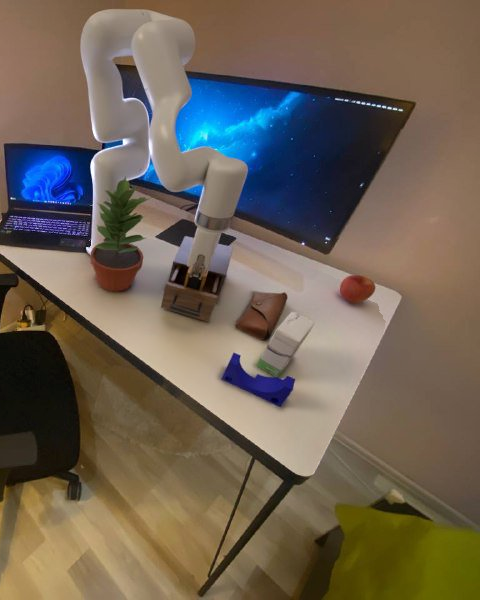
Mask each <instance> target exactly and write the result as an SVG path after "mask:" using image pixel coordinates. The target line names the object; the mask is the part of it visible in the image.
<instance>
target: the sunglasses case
mask: <svg viewBox="0 0 480 600" xmlns="http://www.w3.org/2000/svg"><path fill="white" fill-rule="evenodd" d="M287 300H288V294H287V292H286V291H285V292H280V293H279V292H257V291H254V292H253V294H252V297H251V299H250V301H249V302H248V304H247V306H246V308H245V309H244V311H243V313H242V314H241V316H240V317H239V318H238V319H237V321H236V323H235V324H234V326H235V327H236V328H237V330H240V331H242V332H243V333H245V334H247V335H249V336H251V337H253V338H255V339H257V340H259V341H262V342H263V341H264V342H265V341H266V342H267V341H270V340H271V338H272V336H273V334H274V332H275V331H274V330H276V327H277V324H278V322H279V319H280V317H281V315H282V313H283V311H284V308H285V306H286V303H287Z"/></svg>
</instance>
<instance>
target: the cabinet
mask: <svg viewBox="0 0 480 600" xmlns="http://www.w3.org/2000/svg"><path fill="white" fill-rule="evenodd" d="M193 240H194V237H191V236H187V235H184V237H183V239H182V242H181V244H180V246H179V248H178V250H177V252H176V255H175V257H174V258H173V260H172V264H171V269H170V273H169V277H168V281H167V282H171V279H172V277H173V274H174V272H175V270H176V268H177V265H179V266H183V267H186V268H189V267H188V266H187V261H188V258H189V254H190V251H191V247H192V244H193ZM233 250H234V246H229V245H225V244H221V243H218V245H217V248H216V250H215V253H214V255H213V258H212V260H211V262H210V265H209V270H208V273H209V274H213V275H217V276H220V278H219V282H218V286H217V289H216V293H215V295H217V296H218V298H217V301H218V299H219V297H220V293H221V291H222V289H223V286H224V283H225V280H226V278H227V274H228V269H229V267H230V261H231V258H232V254H233ZM195 264H196V263H195ZM217 301H216V303H217Z"/></svg>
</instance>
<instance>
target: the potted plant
mask: <svg viewBox="0 0 480 600" xmlns="http://www.w3.org/2000/svg"><path fill="white" fill-rule="evenodd" d="M130 184H131V183H130V182H129V180H128V181H127V180H126V176H125V178H124V180H122V181H120V182H119V183H118V185H117V189H116V191H115V190H114V193H113V194H112V193H111V192H109V191H107V190H106V191H105V192H106V193H107V194H108V195H109V196H110V197H111V203H109V202H107V201H104V202H103V203H104V204H106V205H107V206H108V207H110V210H109V209H107V208H106V207H105V206H104V205H102V204H98V203H97V202H96V203H97V204H98V205H99V206H100V208H101V210H102V211H103V212H104V213H105V214H102V213H101V212H100V214H101V216H100V217H101V219H102V220H103V221H104V224H105V226H106V227H104V226H98V225H97V227H98V228H97V230H98V231H99V232H100V233H101V234H102V235H103V236H104V237H105V239H104V242H103V243H100V244H97V245H96V246H95V247H94V248H93V249H92V251H91V255H90V264H91V266H92V267H93V270H94V274H95V279H96V282H97V284H98V285H99V286H100V287H101V288H102V289H104V290H106V291H110V292H121V291H126V290H127V289H129V288H130V287H131V286H132V284H133V282H134V279H135V278H136V276H137V274H138V272H139V271H140V270H141V268H142V267H143V264H144V263H143V262H144V254H143V252H142V251H141V249H140V248H139V247H138V246H137V245H135V244H132V243H136V242H140V241H143V240H146V237H143V235H141V234H133V235H128V236H127V233H128V232H129V231H131V230H132V229H133V228H134V227H136V226H137V225H138V224H139V223H141V221H142V219H143V218H145V217H146V216H143V215H142V214H138V212H135V213H133V214H131V213H132V212H133V211H134V210H136V208H137V207H138V206H139V205H141V204H142V203H144V202H146V201H148V200H150V199H151V198H150V197H149V198H147V197H144V196H140V197H139V198H131V197H133V195H134V193H135V192H136V191H137V188H136V187H133V188H132V189H130V187H131V185H130Z"/></svg>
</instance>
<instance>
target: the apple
mask: <svg viewBox="0 0 480 600" xmlns="http://www.w3.org/2000/svg"><path fill="white" fill-rule="evenodd" d="M339 285H340V286H339V293H340V296H341V297H342V298H343V299H345V301H348V302H349V303H351V304H354V303H355V304H356V303H362V302H364V301H366V300H368V299H370V298H371V297H372V296H373V294H374V293H375V291H376V284H375V282H374V281H373V280H371V278H368V277H366V276H363V275H360V274H351V275H348V276H346V277H345V278H344V279H342V280H341V283H340V284H339Z"/></svg>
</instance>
